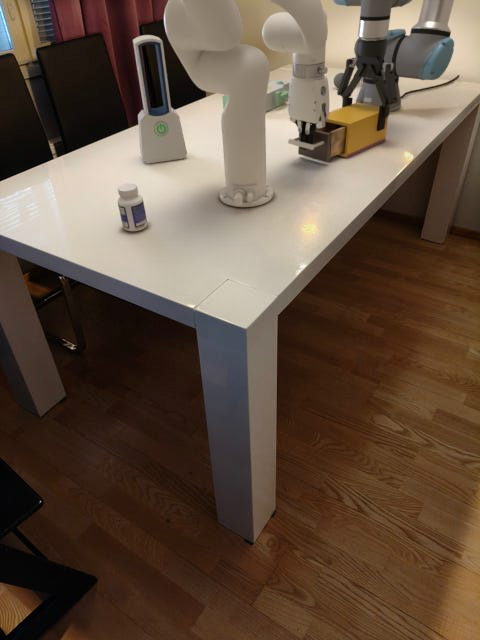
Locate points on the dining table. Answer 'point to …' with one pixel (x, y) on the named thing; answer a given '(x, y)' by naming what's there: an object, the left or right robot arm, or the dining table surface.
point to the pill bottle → (131, 208)
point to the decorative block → (272, 94)
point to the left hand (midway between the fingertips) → (306, 147)
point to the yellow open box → (358, 127)
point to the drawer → (323, 142)
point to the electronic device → (157, 113)
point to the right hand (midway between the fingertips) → (363, 125)
